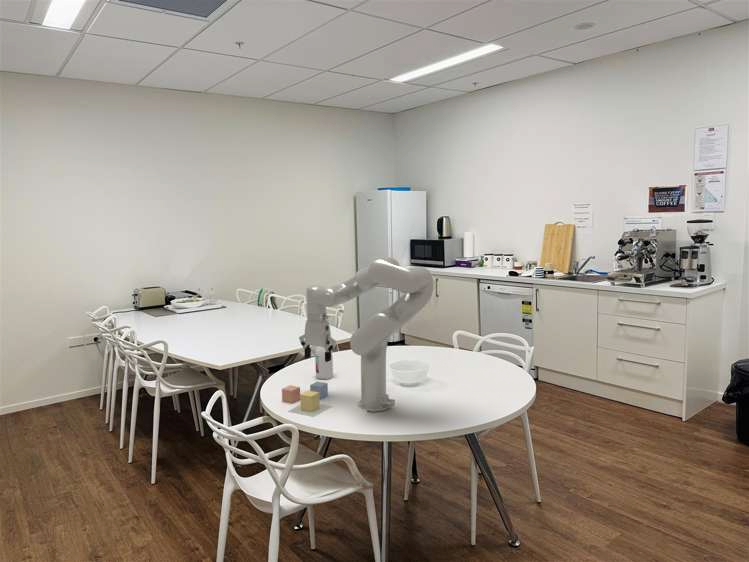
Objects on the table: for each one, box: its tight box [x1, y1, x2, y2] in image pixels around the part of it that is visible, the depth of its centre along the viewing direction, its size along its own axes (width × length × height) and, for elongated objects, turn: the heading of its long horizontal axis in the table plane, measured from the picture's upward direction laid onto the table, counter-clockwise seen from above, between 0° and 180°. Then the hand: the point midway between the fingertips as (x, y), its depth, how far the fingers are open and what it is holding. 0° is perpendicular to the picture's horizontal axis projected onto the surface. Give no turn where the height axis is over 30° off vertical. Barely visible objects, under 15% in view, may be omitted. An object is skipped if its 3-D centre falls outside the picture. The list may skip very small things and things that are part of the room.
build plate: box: [287, 403, 333, 418], centre depth 205 cm, size 12×12×1 cm
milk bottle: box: [314, 346, 334, 380], centre depth 245 cm, size 8×8×20 cm
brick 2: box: [309, 381, 329, 400], centre depth 218 cm, size 5×5×6 cm
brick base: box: [299, 390, 320, 412], centre depth 204 cm, size 5×5×6 cm
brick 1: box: [281, 385, 301, 405], centre depth 214 cm, size 5×5×6 cm
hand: (317, 359), depth 216 cm, fingers open, 9 cm apart
